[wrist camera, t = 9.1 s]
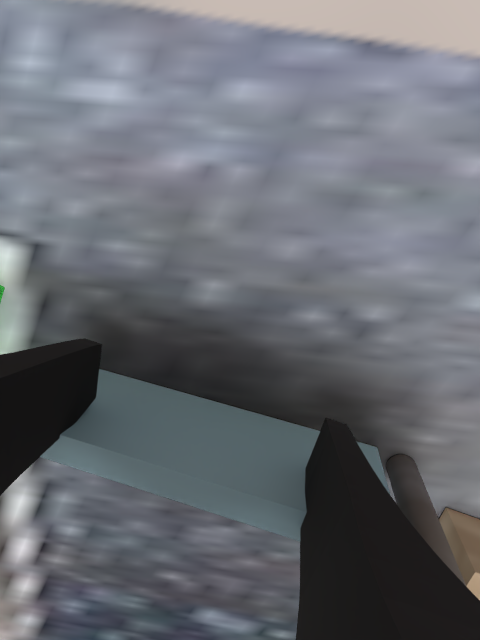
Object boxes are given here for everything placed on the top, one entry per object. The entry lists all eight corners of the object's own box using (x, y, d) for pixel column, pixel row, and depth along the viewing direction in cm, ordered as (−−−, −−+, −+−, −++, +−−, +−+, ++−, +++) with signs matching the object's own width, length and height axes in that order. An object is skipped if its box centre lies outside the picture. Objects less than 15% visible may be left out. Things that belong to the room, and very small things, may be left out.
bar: (368, 469, 13) (390, 571, 9) (73, 384, 15) (-10, 440, 11) (377, 447, 13) (403, 542, 9) (74, 362, 14) (-11, 412, 11)
